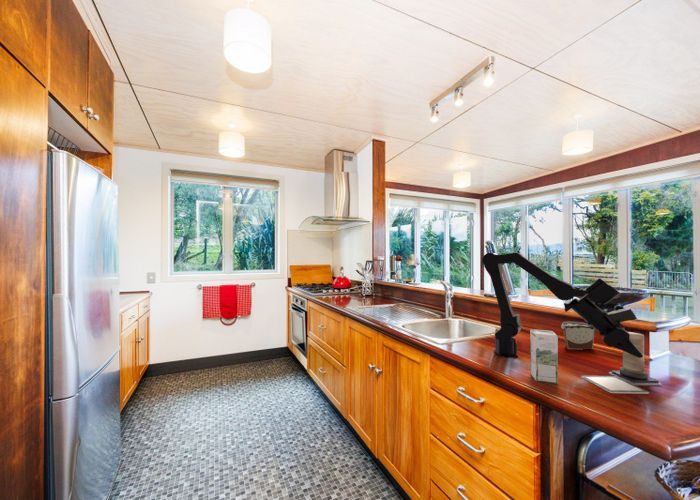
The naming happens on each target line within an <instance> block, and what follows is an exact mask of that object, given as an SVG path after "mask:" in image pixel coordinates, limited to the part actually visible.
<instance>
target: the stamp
mask: <svg viewBox="0 0 700 500" xmlns="http://www.w3.org/2000/svg"><path fill="white" fill-rule="evenodd" d="M627 332H628V333H629V334H630V336H629V340H630V341H631V343H632V344H633V345H634V346H635V347H636V348H637V349H638V350H639V352H640V353H641V354H642V355H643V357H641V358H638V357H636V356H634V355H632V354H629V353H627V352H625V351H622V367H619V371H620V373H621V374H622V375H625V376H628V377H631V378H635V379H642V380H645V379H648V377H649V375H648V372H645V335H644V334H642V333H639V332H633V331H632V332H631V331H627Z"/></svg>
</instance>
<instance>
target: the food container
mask: <svg viewBox="0 0 700 500" xmlns="http://www.w3.org/2000/svg"><path fill="white" fill-rule="evenodd" d="M560 329H562V330H563V340H564V345H565V349H568V350H583V349H593V350H594V339H595V331H597V330H596V329H594V328H593V327H592V326H591V325H588V324H587V323H586V322H580V321H563V322H562V323H561V326H560Z"/></svg>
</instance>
